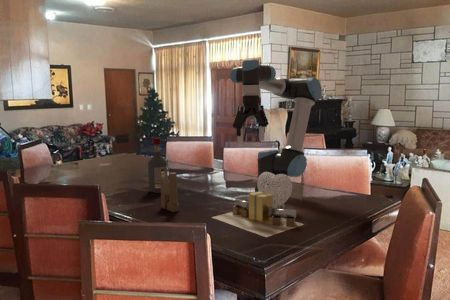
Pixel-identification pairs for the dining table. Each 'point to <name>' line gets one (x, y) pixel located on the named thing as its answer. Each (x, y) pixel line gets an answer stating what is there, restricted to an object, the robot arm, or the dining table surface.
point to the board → (255, 224)
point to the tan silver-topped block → (241, 208)
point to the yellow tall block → (260, 207)
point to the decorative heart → (275, 190)
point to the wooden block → (169, 193)
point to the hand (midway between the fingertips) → (251, 142)
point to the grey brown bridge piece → (281, 213)
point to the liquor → (156, 168)
